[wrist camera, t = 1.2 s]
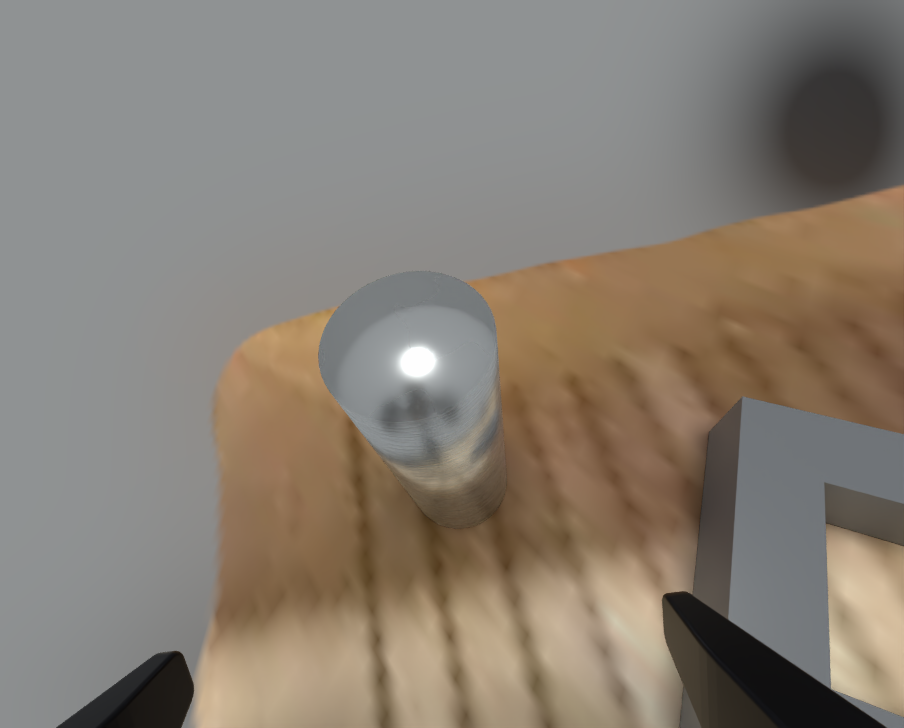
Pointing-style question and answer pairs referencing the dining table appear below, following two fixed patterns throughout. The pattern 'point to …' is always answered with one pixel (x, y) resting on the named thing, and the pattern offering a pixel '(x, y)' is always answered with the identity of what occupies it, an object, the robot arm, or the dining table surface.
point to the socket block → (790, 524)
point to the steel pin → (424, 389)
